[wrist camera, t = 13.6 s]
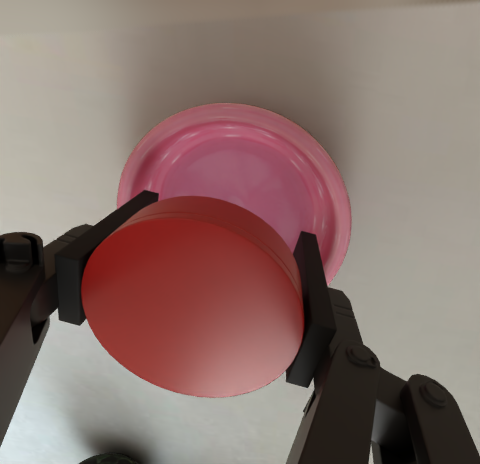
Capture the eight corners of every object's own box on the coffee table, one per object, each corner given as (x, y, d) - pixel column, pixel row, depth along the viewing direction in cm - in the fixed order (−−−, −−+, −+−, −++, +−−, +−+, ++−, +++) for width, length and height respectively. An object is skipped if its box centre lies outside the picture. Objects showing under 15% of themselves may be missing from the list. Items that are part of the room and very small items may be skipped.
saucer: (134, 268, 21) (111, 295, 18) (146, 76, 16) (115, 73, 13) (304, 312, 21) (306, 347, 18) (377, 132, 15) (398, 141, 12)
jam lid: (211, 381, 13) (201, 423, 12) (77, 281, 12) (43, 313, 10) (344, 294, 11) (356, 334, 9) (188, 147, 9) (165, 161, 7)
